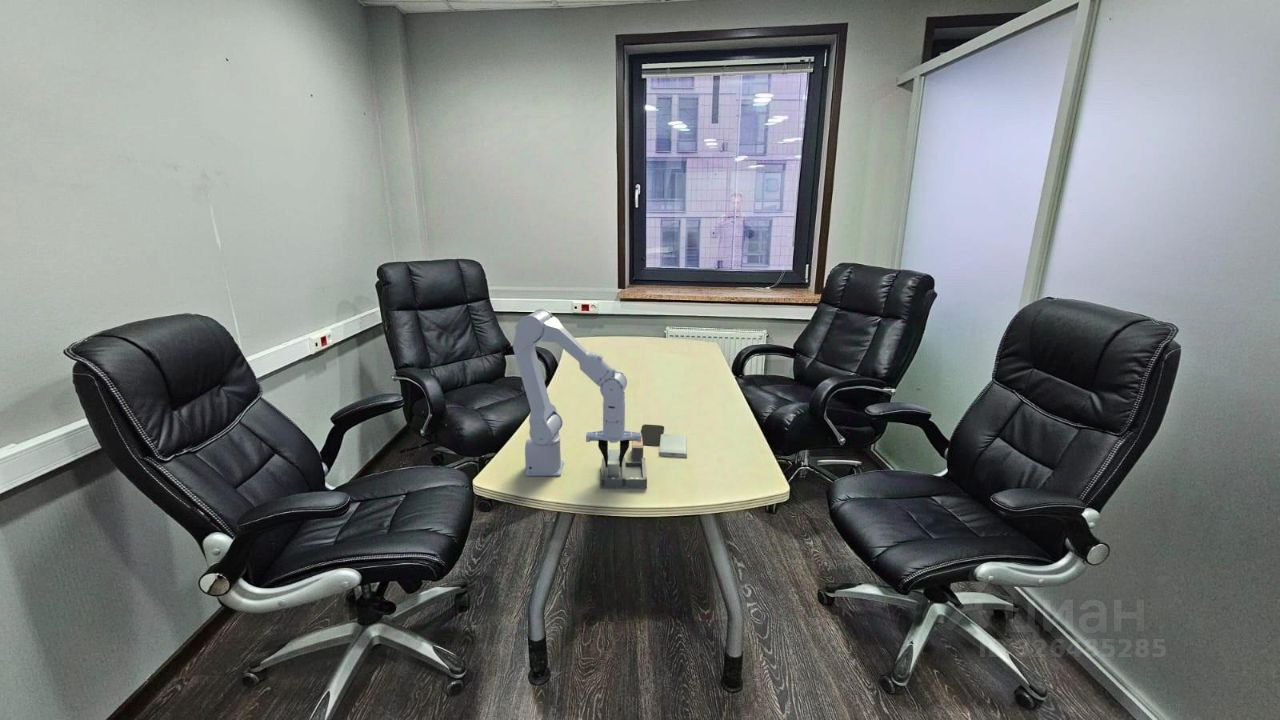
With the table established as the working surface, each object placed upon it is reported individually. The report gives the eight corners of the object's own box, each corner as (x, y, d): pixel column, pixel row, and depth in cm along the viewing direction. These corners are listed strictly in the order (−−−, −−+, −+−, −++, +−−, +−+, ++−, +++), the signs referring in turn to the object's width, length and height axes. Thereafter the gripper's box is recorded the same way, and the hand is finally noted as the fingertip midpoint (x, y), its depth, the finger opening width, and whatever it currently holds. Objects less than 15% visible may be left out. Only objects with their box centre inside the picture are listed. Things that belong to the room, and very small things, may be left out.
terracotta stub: (632, 462, 149) (632, 447, 148) (631, 449, 157) (631, 435, 156) (642, 462, 150) (643, 447, 148) (641, 449, 157) (642, 435, 156)
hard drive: (660, 433, 165) (659, 451, 153) (686, 435, 165) (687, 453, 153) (660, 438, 166) (658, 456, 154) (686, 440, 165) (686, 458, 153)
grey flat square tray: (600, 488, 136) (600, 479, 135) (602, 465, 147) (602, 457, 146) (646, 488, 136) (647, 479, 135) (644, 465, 148) (645, 457, 147)
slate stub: (607, 479, 138) (607, 464, 136) (608, 463, 145) (608, 449, 144) (619, 479, 138) (619, 464, 136) (619, 463, 146) (619, 449, 144)
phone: (637, 444, 160) (642, 424, 174) (637, 446, 160) (642, 426, 175) (661, 446, 159) (664, 425, 174) (661, 448, 160) (664, 427, 174)
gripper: (585, 424, 132) (585, 472, 136) (642, 424, 133) (641, 472, 137) (586, 413, 139) (587, 459, 143) (641, 414, 140) (640, 459, 144)
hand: (613, 465), depth 141 cm, fingers closed on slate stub, 3 cm apart
